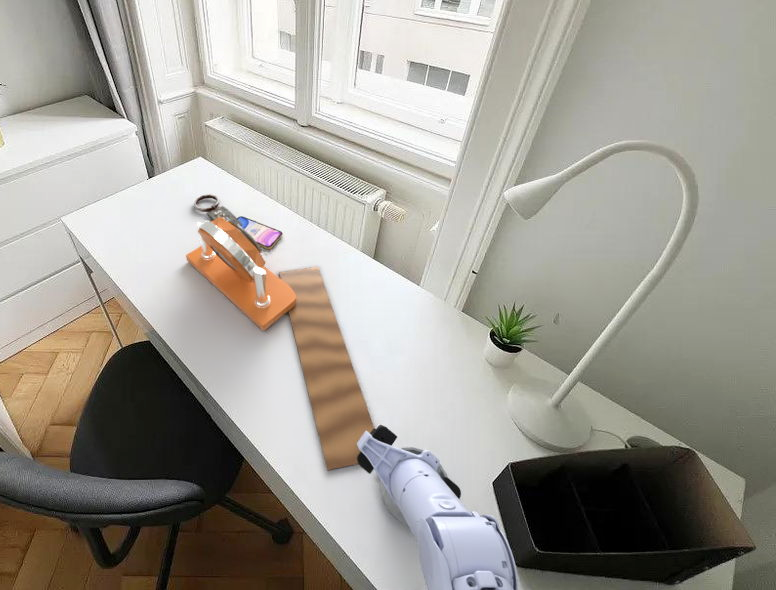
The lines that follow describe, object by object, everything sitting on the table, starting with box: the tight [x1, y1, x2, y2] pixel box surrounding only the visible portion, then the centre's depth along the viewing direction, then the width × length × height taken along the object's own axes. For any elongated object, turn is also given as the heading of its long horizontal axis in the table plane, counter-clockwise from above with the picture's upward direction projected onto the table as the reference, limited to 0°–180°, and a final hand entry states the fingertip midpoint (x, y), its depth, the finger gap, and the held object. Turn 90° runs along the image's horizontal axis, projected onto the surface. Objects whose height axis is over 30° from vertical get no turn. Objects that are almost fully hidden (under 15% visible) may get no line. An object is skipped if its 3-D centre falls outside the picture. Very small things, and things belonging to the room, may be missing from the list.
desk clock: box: [185, 217, 296, 332], centre depth 94 cm, size 12×30×20 cm, turn 43°
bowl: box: [379, 446, 449, 527], centre depth 64 cm, size 10×10×4 cm
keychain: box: [193, 193, 242, 226], centre depth 120 cm, size 8×19×2 cm, turn 36°
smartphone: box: [236, 215, 284, 250], centre depth 113 cm, size 8×15×1 cm, turn 58°
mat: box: [278, 266, 375, 471], centre depth 85 cm, size 45×10×1 cm, turn 10°
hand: (394, 454), depth 56 cm, fingers open, 7 cm apart
